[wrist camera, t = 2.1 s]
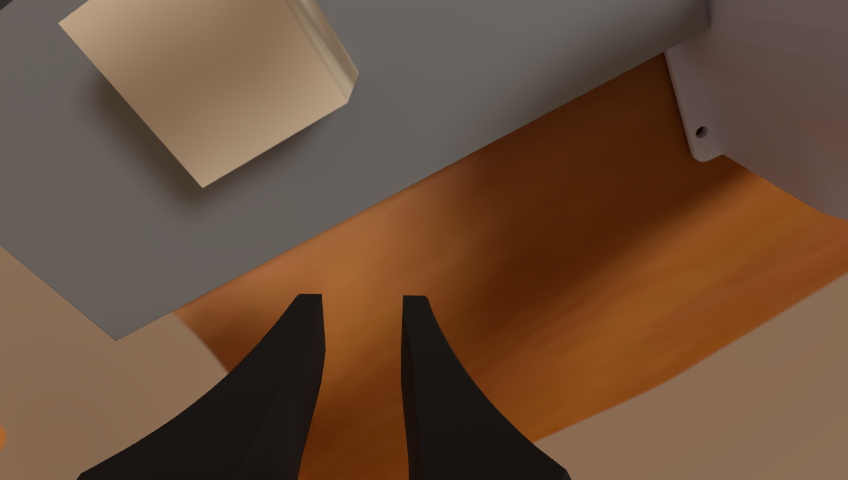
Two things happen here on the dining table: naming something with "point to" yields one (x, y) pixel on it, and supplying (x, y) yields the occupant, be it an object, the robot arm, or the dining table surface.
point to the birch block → (217, 72)
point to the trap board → (293, 157)
